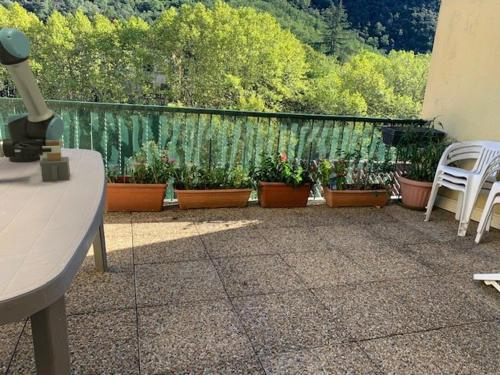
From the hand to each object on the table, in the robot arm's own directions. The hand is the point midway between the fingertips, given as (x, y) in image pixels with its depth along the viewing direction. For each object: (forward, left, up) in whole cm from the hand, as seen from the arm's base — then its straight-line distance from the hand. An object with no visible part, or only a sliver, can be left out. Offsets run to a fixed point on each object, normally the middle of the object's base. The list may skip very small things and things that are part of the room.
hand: (61, 146), depth 164 cm
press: (+1, -3, -14) cm, 14 cm away
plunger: (0, -3, -12) cm, 13 cm away
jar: (-16, -6, -14) cm, 22 cm away
